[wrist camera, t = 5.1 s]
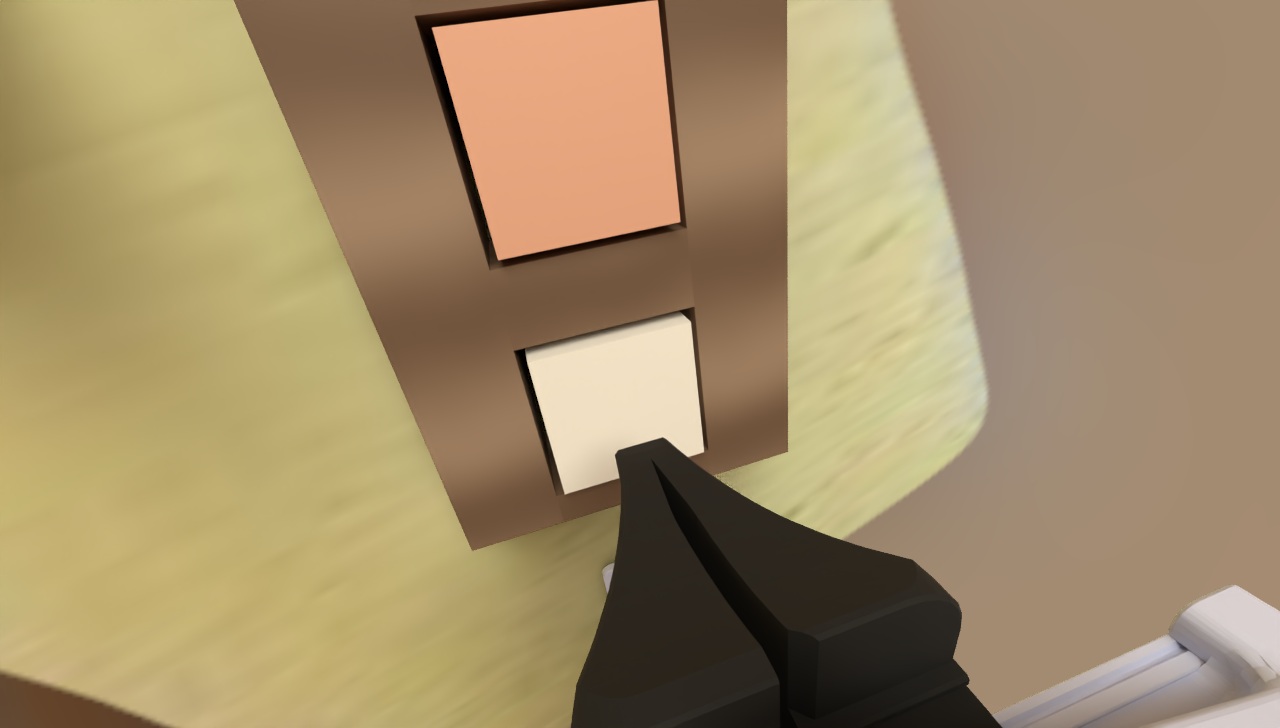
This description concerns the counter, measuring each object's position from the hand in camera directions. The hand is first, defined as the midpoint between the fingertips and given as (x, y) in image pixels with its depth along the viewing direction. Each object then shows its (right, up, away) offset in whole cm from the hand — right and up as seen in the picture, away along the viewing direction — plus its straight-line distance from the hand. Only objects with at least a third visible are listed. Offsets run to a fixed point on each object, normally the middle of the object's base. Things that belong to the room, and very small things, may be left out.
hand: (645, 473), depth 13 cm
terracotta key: (-2, +9, +1) cm, 10 cm away
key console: (-2, +7, +5) cm, 9 cm away
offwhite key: (-1, +2, +5) cm, 6 cm away
